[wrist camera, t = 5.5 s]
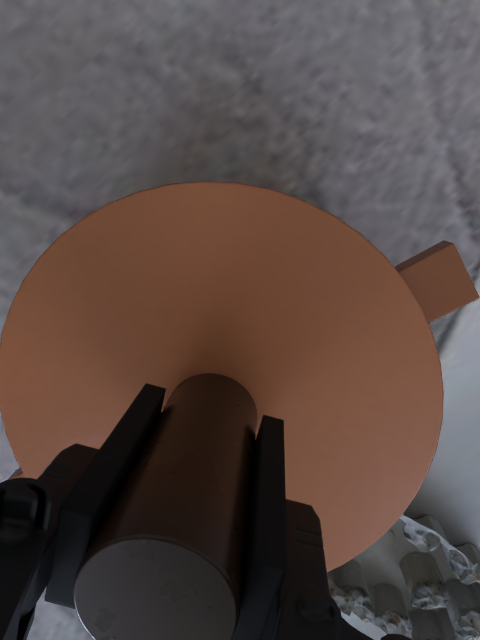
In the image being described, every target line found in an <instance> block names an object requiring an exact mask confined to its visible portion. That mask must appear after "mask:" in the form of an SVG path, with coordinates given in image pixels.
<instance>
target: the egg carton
mask: <svg viewBox="0 0 480 640" xmlns="http://www.w3.org/2000/svg"><path fill="white" fill-rule="evenodd" d="M327 577H328V585H329V593H330V596H331V597H332V598H333V599H334V600H335V602H336V603H337V605H338V607H339V609H340V611H341V612H342V613H345V614H347V615H349V616H350V614H351V611H352V612H354V613H355V614H356V615H357V616H359V617H360V618H361V619H362V620H363V621H364V622H371V623H373V624H374V625H376V626H378V627H380V628H381V629H382V630H383V631H385V632H386V633H387V634H401V635H404V636H406V637H409V638H411V639H413V640H468V639H469V638H470V637H476V636H479V635H480V550H479V549H478V548H476V547H475V546H473V545H472V544H468V543H467V544H465V545H463V546H457V547H454V546H452V545H450V543H449V541H448V539H447V537H446V535H445V533H444V531H443V529H442V527H441V525H440V523H439V522H438V521H437V520H436V519H434V518H433V517H431V516H430V515H427V516H424V517H422V518H420V519H410V518H408V517H406V515H405V512H404V513H403V515H402V516H401V517H400V518H399V519H398V520H397V522H396V523H395V524H394V525H393V526H392V527H391V528H390V529H389V530H388V531H387V532H386V533H385V534H384V535H383V536H382V537H381V538H380V539H378V540H377V541H376V542H375V543H374V544H372V545H371V546H370V547H369V548H367V549H366V550H365V551H364V552H362V553H361V554H359V555H357V556H356V557H354V558H353V559H351V560H349V561H348V562H346V563H345V564H343V565H341V566H339V567H337V568H335V569H333V570H331V571H329V572H327Z"/></svg>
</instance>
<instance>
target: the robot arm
mask: <svg viewBox="0 0 480 640" xmlns="http://www.w3.org/2000/svg"><path fill="white" fill-rule="evenodd" d="M165 392H166V388H163V387H159V386H155V385H152V384H148V383H146V384H145V385H144V386H143V388H142V389H141V391H140V392H139V394H138V395H137V396H136V398H135V399H134V401H133V402H132V404H131V405H130V406H129V408H128V409H127V411H126V412H125V414H124V415H123V416H122V418H121V419H120V421H119V422H118V424H117V425H116V426H115V428H114V429H113V431H112V432H111V434H110V435H109V436H108V438H107V439H106V441H105V442H104V444H103V445H102V446H101V448H100V449H96V448H92V447H88V446H85V445H81V444H77V443H75V444H73V445H71V446H69V447H67V448H66V449H64V450H62V451H60V453H59V454H58V455H57V456H56V457H55V459H54V460H53V461H52V462H51V464H49V466H48V467H47V468H46V469H45V470H44V472H43V474H41V475H40V476H39V477H38V479H33V478H14V479H10V480H6V481H4V482H2V483H0V640H26V639H27V636H28V633H29V631H30V628H31V625H32V622H33V620H34V614H35V607H36V603H37V601H38V599H39V598H40V596H41V594H42V593H43V591H44V589H45V588H46V586H47V588H46V594H45V601H47V602H51V603H54V604H58V605H62V606H65V607H69V608H73V609H75V605H74V599H73V586H74V579H75V576H76V572H77V570H78V568H79V566H80V564H81V562H82V560H83V558H84V556H85V554H86V553H87V551H88V549H89V547H90V545H91V543H92V541H93V539H94V538H95V536H96V534H97V532H98V530H99V528H100V526H101V525H102V523H103V521H104V519H105V517H106V515H107V513H108V511H109V510H110V508H111V506H112V504H113V502H114V500H115V498H116V496H117V495H118V493H119V491H120V489H121V487H122V485H123V483H124V481H125V480H126V478H127V476H128V474H129V472H130V470H131V468H132V466H133V465H134V463H135V461H136V459H137V457H138V455H139V453H140V452H141V450H142V448H143V446H144V444H145V442H146V440H147V438H148V437H149V435H150V433H151V431H152V429H153V427H154V425H155V423H156V422H157V420H158V418H159V416H160V414H161V410H162V405H163V401H164V397H165ZM230 640H373V639H372V638H370V637H368V636H367V635H365V634H363V633H361V632H360V631H358V630H357V629H355V628H354V627H352V626H351V625H350V624H348V623H347V622H346V621H345V620H344V619H343V618H342V617H341V611H340V609H339V607H338V605H337V603H336V602H335V600H334V599H333V598H332V597H331V596H330V593H329V585H328V577H327V570H326V562H325V554H324V549H323V538H322V531H321V523H320V519H319V517H318V515H317V514H316V512H315V510H314V509H313V507H312V506H311V505H308V504H304V503H300V502H297V501H293V500H289V499H286V490H285V449H284V420H282V419H278V418H275V417H271V416H267V415H263V417H262V420H261V424H260V427H259V430H258V434H257V437H256V441H255V452H254V462H253V473H252V484H251V495H250V506H249V517H248V528H247V539H246V550H245V561H244V572H243V583H242V594H241V605H240V616H239V621H238V625H237V628H236V630H235V633H234V635H233V636H232V638H231V639H230ZM381 640H413V639H411V638H409V637H406V636H404V635H401V634H387V635H386V636H384V637H382V638H381Z"/></svg>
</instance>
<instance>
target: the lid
mask: <svg viewBox="0 0 480 640" xmlns="http://www.w3.org/2000/svg"><path fill="white" fill-rule="evenodd" d="M146 383H148V384H152V385H155V386H159V387H163V388H166V392H165V397H164V401H163V405H162V410H161V414H160V416H159V418H158V420H157V422H156V423H155V425H154V427H153V429H152V431H151V433H150V435H149V437H148V438H147V440H146V442H145V444H144V446H143V448H142V450H141V452H140V453H139V455H138V457H137V459H136V461H135V463H134V465H133V466H132V468H131V470H130V472H129V474H128V476H127V478H126V480H125V481H124V483H123V485H122V487H121V489H120V491H119V493H118V495H117V496H116V498H115V500H114V502H113V504H112V506H111V508H110V510H109V511H108V513H107V515H106V517H105V519H104V521H103V523H102V525H101V526H100V528H99V530H98V532H97V534H96V536H95V538H94V539H93V541H92V543H91V545H90V547H89V549H88V551H87V553H86V554H85V556H84V558H83V560H82V562H81V564H80V566H79V568H78V570H77V572H76V576H75V579H74V586H73V599H74V605H75V609H76V612H77V615H78V617H79V619H80V621H81V623H82V625H83V626H84V628H85V629H86V630H87V632H88V633H89V634H90V635H91V637H92V638H93V639H94V640H230V639H231V638H232V636H233V635H234V633H235V630H236V628H237V625H238V621H239V616H240V605H241V594H242V583H243V572H244V561H245V550H246V539H247V528H248V517H249V506H250V495H251V484H252V473H253V462H254V452H255V441H256V437H257V434H258V430H259V427H260V424H261V420H262V417H263V415H267V416H271V417H275V418H278V419H282V420H284V449H285V490H286V499H289V500H293V501H297V502H300V503H304V504H308V505H311V506H312V507H313V509H314V510H315V512H316V514H317V515H318V517H319V519H320V523H321V531H322V538H323V549H324V554H325V562H326V570H327V572H329V571H331V570H333V569H335V568H337V567H339V566H341V565H343V564H345V563H346V562H348V561H349V560H351V559H353V558H354V557H356V556H357V555H359V554H361V553H362V552H364V551H365V550H366V549H367V548H369V547H370V546H371V545H372V544H374V543H375V542H376V541H377V540H378V539H380V538H381V537H382V536H383V535H384V534H385V533H386V532H387V531H388V530H389V529H390V528H391V527H392V526H393V525H394V524H395V523H396V522H397V520H398V519H399V518H400V517H401V516H402V515H403V513H404V512H405V510H406V509H407V508H408V506H409V505H410V503H411V502H412V501H413V499H414V498H415V496H416V495H417V493H418V491H419V489H420V487H421V485H422V483H423V481H424V480H425V478H426V476H427V474H428V471H429V469H430V466H431V463H432V460H433V457H434V455H435V452H436V449H437V445H438V440H439V435H440V430H441V425H442V417H443V395H444V391H443V381H442V372H441V363H440V359H439V355H438V351H437V348H436V344H435V340H434V336H433V333H432V331H431V329H430V326H429V324H428V321H427V319H426V317H425V314H424V312H423V310H422V307H421V306H420V304H419V302H418V301H417V299H416V297H415V296H414V294H413V292H412V291H411V289H410V288H409V286H408V284H407V283H406V281H405V280H404V278H403V277H402V276H401V275H400V274H399V272H398V271H397V270H396V269H395V268H394V266H393V265H392V264H391V263H390V261H389V260H388V259H387V258H386V257H385V256H384V255H383V254H382V253H381V252H380V251H379V250H378V249H377V248H376V247H375V246H373V245H372V244H371V243H370V242H369V241H368V240H367V239H366V238H365V237H364V236H363V235H361V234H360V233H359V232H357V231H356V230H354V229H353V228H351V227H350V226H349V225H347V224H346V223H344V222H343V221H341V220H340V219H338V218H337V217H335V216H334V215H332V214H330V213H328V212H326V211H324V210H322V209H320V208H318V207H316V206H314V205H312V204H310V203H308V202H306V201H304V200H302V199H299V198H296V197H293V196H290V195H287V194H284V193H281V192H278V191H275V190H272V189H268V188H263V187H257V186H252V185H247V184H242V183H233V182H214V181H199V182H187V183H176V184H169V185H164V186H160V187H156V188H151V189H147V190H143V191H139V192H136V193H134V194H131V195H128V196H126V197H123V198H121V199H118V200H116V201H113V202H110V203H109V204H107V205H105V206H103V207H101V208H100V209H98V210H96V211H94V212H93V213H91V214H89V215H87V216H86V217H84V218H82V219H81V220H80V221H79V222H77V223H76V224H75V225H73V226H72V227H71V228H70V229H68V230H67V231H66V232H64V233H63V234H62V235H61V236H59V237H58V238H57V240H56V241H55V242H54V243H53V244H52V245H51V246H50V247H49V248H48V249H47V250H46V251H45V252H44V253H43V254H42V255H41V256H40V257H39V259H38V260H37V262H36V263H35V265H34V266H33V267H32V269H31V270H30V272H29V273H28V275H27V276H26V277H25V279H24V280H23V282H22V284H21V286H20V288H19V290H18V292H17V294H16V296H15V298H14V300H13V302H12V304H11V307H10V310H9V313H8V316H7V319H6V322H5V325H4V328H3V331H2V337H1V343H0V411H1V415H2V419H3V423H4V427H5V431H6V435H7V438H8V440H9V443H10V445H11V448H12V451H13V453H14V456H15V458H16V460H17V462H18V464H19V466H20V468H21V469H22V471H23V473H24V475H25V477H26V478H33V479H38V477H39V476H40V475H41V474H43V472H44V470H45V469H46V468H47V467H48V466H49V464H51V462H52V461H53V460H54V459H55V457H56V456H57V455H58V454H59V453H60V451H62V450H64V449H66V448H67V447H69V446H71V445H73V444H75V443H77V444H81V445H85V446H88V447H92V448H96V449H100V448H101V446H102V445H103V444H104V442H105V441H106V439H107V438H108V436H109V435H110V434H111V432H112V431H113V429H114V428H115V426H116V425H117V424H118V422H119V421H120V419H121V418H122V416H123V415H124V414H125V412H126V411H127V409H128V408H129V406H130V405H131V404H132V402H133V401H134V399H135V398H136V396H137V395H138V394H139V392H140V391H141V389H142V388H143V386H144V385H145V384H146Z"/></svg>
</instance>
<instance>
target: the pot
mask: <svg viewBox="0 0 480 640" xmlns="http://www.w3.org/2000/svg"><path fill="white" fill-rule="evenodd" d="M394 268H395V269H396V270H397V271H398V272H399V274H400V275H401V276H402V277H403V278H404V280H405V281H406V283H407V284H408V286H409V288H410V289H411V291H412V292H413V294H414V296H415V297H416V299H417V301H418V302H419V304H420V306H421V307H422V310H423V312H424V314H425V317H426V319H427V321H428V323H430V322H432V321H434V320H436V319H438V318H440V317H442V316H444V315H446V314H448V313H450V312H452V311H454V310H456V309H458V308H460V307H462V306H464V305H466V304H468V303H470V302H472V301H474V300H476V299H478V298H479V295H478V293H477V291H476V289H475V287H474V285H473V283H472V281H471V278H470V276H469V274H468V272H467V270H466V268H465V266H464V264H463V262H462V260H461V258H460V255H459V253H458V251H457V249H456V247H455V245H454V243H451V242H448V241H442V242H440V243H438V244H436V245H434V246H432V247H431V248H429V249H427V250H425V251H423V252H421V253H419V254H417V255H416V256H414V257H412V258H410V259H408V260H406V261H404V262H403V263H401V264H399V265H397V266H395V267H394ZM14 478H26V477H25V475H24V473H23V471H22V469H21V468H19V469H17V470H16V471H15V472H14V473H13V474H12V475H11V476H10V478H9V479H8V480H10V479H14Z"/></svg>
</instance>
